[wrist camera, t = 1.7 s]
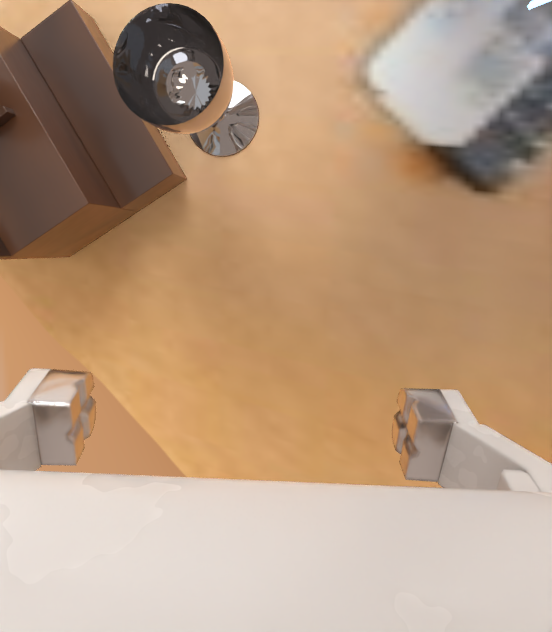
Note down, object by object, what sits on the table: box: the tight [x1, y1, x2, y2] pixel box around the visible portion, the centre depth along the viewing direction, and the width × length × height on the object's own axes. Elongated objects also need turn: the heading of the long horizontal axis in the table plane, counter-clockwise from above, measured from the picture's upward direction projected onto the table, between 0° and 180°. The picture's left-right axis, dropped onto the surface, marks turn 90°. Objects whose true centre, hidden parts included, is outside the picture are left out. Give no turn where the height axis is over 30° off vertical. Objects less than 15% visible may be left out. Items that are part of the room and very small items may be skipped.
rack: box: [0, 0, 187, 259], centre depth 48 cm, size 15×18×12 cm
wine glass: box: [113, 3, 259, 156], centre depth 43 cm, size 8×8×15 cm
